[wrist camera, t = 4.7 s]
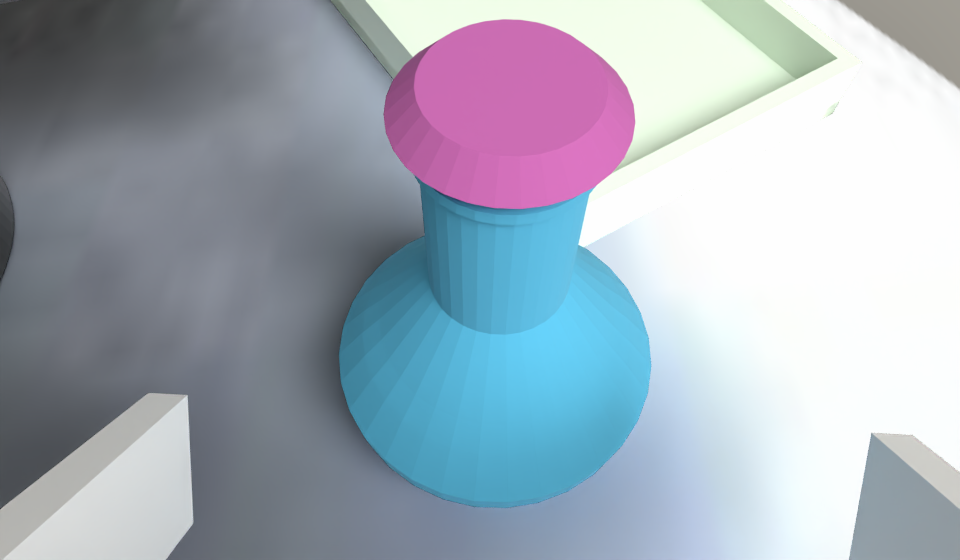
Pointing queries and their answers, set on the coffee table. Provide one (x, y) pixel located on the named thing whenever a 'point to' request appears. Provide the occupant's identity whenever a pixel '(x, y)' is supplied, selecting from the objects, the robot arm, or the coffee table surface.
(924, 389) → the coffee table surface
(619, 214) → the parts tray
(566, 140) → the perfume bottle
